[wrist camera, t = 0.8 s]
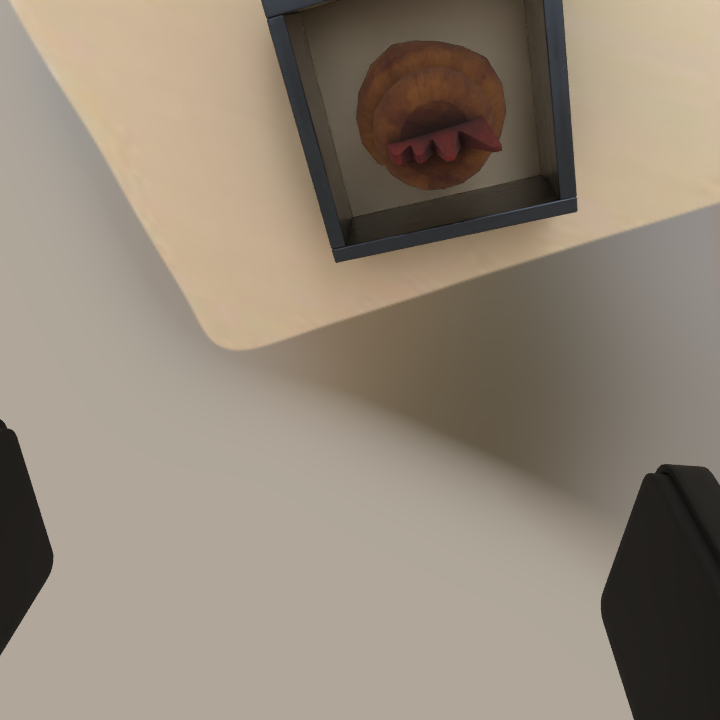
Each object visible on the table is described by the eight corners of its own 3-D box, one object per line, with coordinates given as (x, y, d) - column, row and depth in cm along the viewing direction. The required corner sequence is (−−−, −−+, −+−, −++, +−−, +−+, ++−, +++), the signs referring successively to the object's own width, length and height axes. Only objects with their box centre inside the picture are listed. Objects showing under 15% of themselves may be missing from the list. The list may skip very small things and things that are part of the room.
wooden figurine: (501, 45, 32) (567, 80, 19) (478, 159, 35) (522, 258, 22) (370, 28, 32) (346, 53, 19) (358, 144, 35) (331, 234, 22)
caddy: (280, -2, 31) (260, -2, 27) (533, -77, 29) (555, -90, 25) (343, 232, 37) (335, 263, 33) (557, 185, 35) (578, 211, 31)
